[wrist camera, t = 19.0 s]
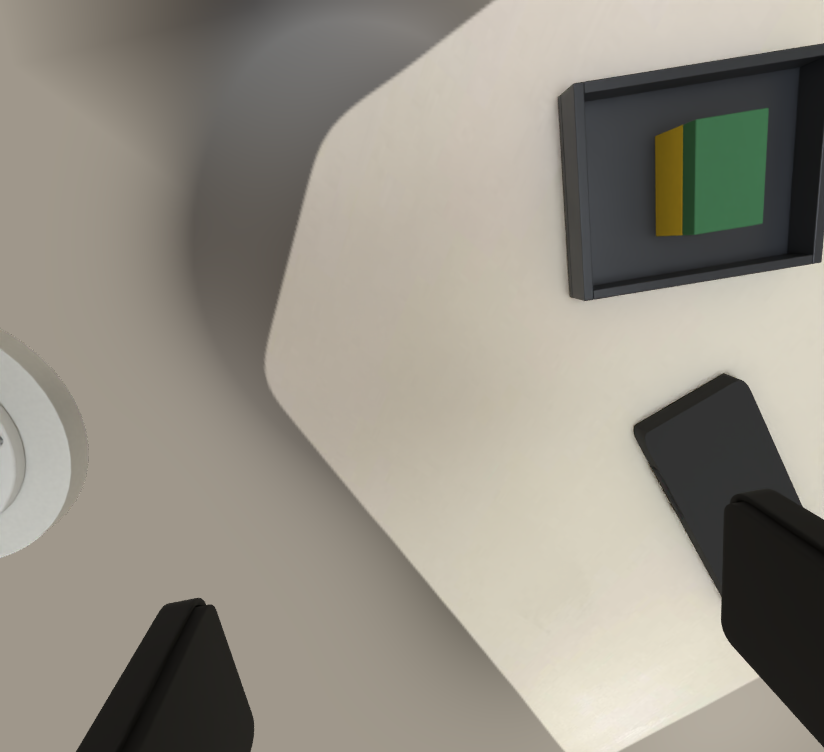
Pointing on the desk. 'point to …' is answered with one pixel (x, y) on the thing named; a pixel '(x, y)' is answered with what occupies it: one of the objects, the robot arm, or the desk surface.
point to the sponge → (711, 174)
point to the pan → (635, 172)
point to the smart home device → (712, 460)
